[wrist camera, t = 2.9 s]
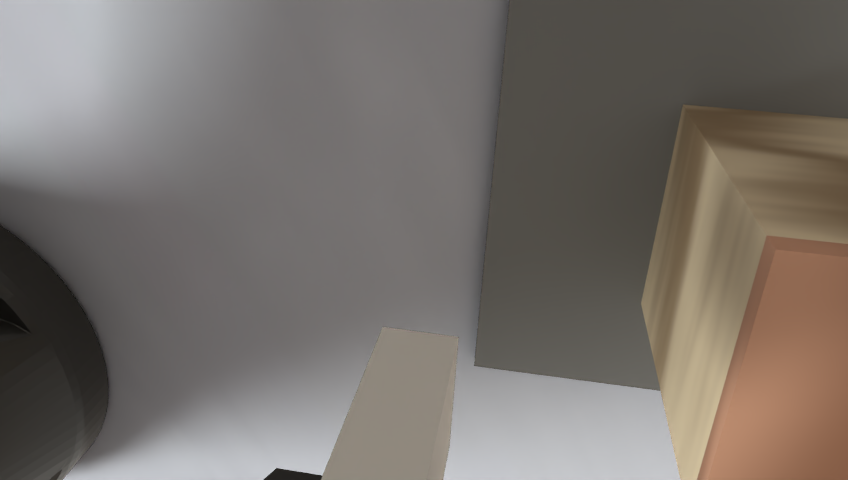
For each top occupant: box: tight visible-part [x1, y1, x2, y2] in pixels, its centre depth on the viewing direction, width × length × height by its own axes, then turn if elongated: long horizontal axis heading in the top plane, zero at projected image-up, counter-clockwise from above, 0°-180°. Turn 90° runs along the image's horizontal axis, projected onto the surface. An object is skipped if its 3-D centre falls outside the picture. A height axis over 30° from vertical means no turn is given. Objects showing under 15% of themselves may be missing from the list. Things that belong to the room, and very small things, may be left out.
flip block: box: [641, 105, 848, 480], centre depth 19 cm, size 5×7×10 cm
